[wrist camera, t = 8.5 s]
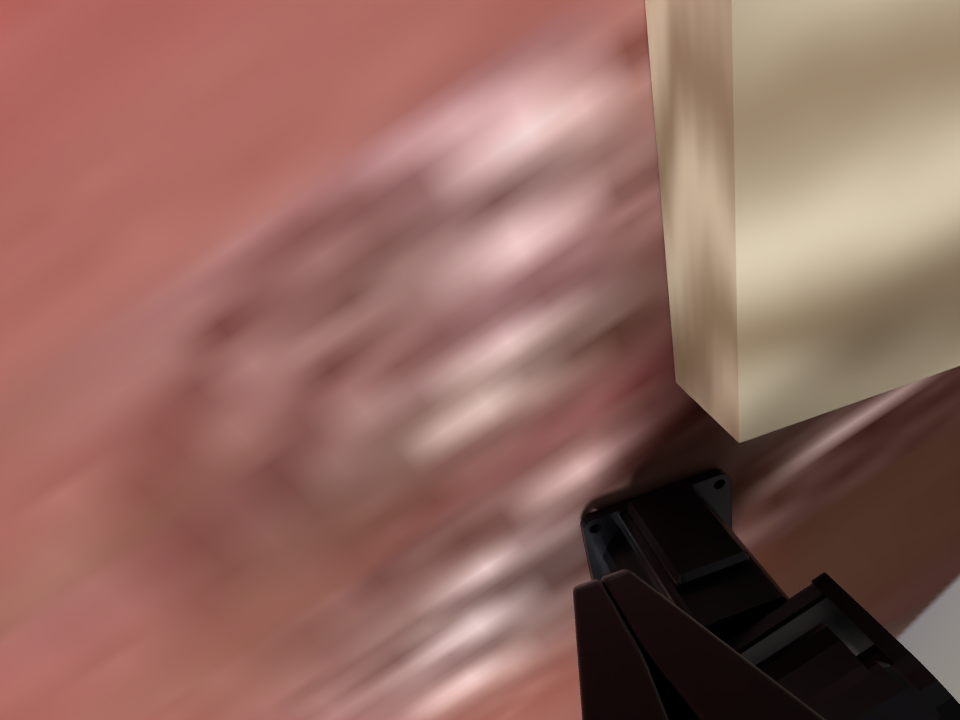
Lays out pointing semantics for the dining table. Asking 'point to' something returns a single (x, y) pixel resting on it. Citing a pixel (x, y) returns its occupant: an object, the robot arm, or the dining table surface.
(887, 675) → the robot arm
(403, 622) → the dining table surface
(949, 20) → the beige flat block
